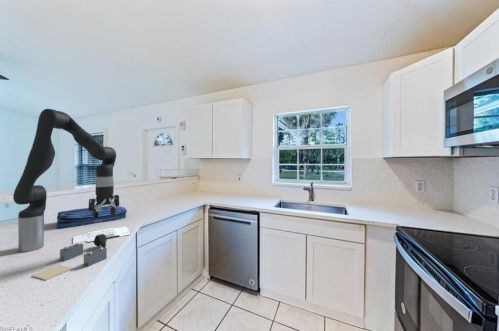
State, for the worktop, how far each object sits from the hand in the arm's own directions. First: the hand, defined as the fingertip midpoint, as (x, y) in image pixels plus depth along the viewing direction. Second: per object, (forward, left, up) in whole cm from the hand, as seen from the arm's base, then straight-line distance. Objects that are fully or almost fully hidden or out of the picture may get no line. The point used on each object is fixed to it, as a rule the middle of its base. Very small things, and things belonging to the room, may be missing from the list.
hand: (104, 216), depth 104 cm
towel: (-65, +38, -18) cm, 77 cm away
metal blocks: (0, -10, -18) cm, 20 cm away
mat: (+1, -22, -18) cm, 28 cm away
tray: (-25, +16, -19) cm, 35 cm away
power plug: (0, 0, -20) cm, 20 cm away
